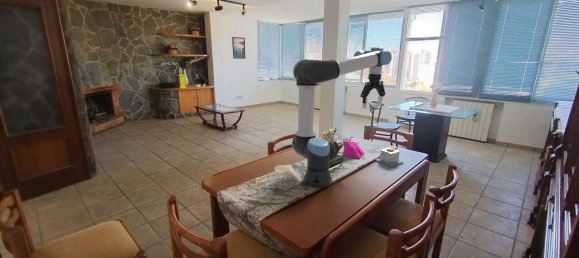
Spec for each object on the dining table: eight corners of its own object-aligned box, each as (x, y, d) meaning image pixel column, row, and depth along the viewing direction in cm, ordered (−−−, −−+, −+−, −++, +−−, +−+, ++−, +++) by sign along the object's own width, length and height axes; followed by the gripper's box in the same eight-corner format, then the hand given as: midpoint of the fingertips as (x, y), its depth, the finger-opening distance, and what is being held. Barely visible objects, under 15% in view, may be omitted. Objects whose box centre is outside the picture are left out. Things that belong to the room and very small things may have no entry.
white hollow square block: (390, 164, 168) (391, 153, 166) (379, 159, 174) (381, 149, 173) (398, 161, 172) (399, 151, 170) (388, 157, 179) (389, 147, 177)
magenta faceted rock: (342, 155, 185) (343, 141, 182) (348, 151, 193) (348, 137, 190) (359, 159, 179) (360, 144, 176) (364, 154, 187) (365, 140, 184)
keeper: (390, 167, 166) (392, 153, 163) (375, 160, 175) (376, 148, 173) (402, 163, 172) (404, 150, 169) (387, 157, 181) (388, 144, 179)
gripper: (365, 74, 156) (362, 110, 162) (393, 73, 169) (389, 106, 174) (355, 73, 162) (353, 108, 168) (383, 72, 175) (380, 104, 181)
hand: (372, 107), depth 171 cm, fingers open, 13 cm apart
